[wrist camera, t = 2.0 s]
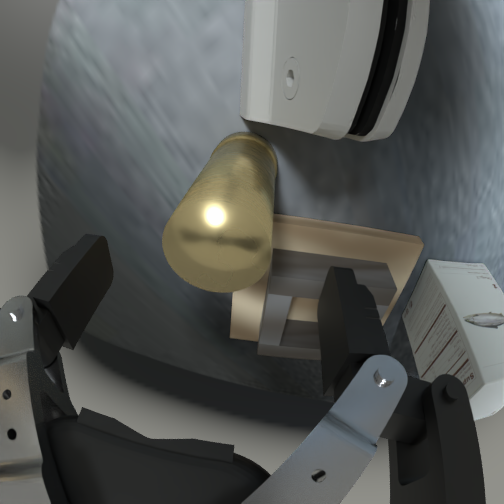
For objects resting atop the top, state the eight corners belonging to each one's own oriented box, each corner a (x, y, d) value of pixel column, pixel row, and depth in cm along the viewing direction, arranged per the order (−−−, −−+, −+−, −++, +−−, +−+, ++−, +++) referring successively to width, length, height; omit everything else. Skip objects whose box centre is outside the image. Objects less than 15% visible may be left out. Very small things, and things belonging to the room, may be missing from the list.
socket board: (240, 209, 21) (232, 242, 17) (418, 236, 20) (438, 269, 17) (231, 328, 28) (225, 363, 25) (366, 340, 28) (372, 374, 25)
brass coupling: (214, 129, 17) (155, 192, 9) (281, 135, 17) (282, 206, 9) (212, 188, 20) (164, 286, 12) (273, 195, 20) (266, 300, 12)
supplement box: (484, 260, 21) (545, 367, 11) (454, 315, 25) (492, 417, 15) (426, 255, 21) (486, 385, 11) (398, 316, 26) (428, 434, 16)
